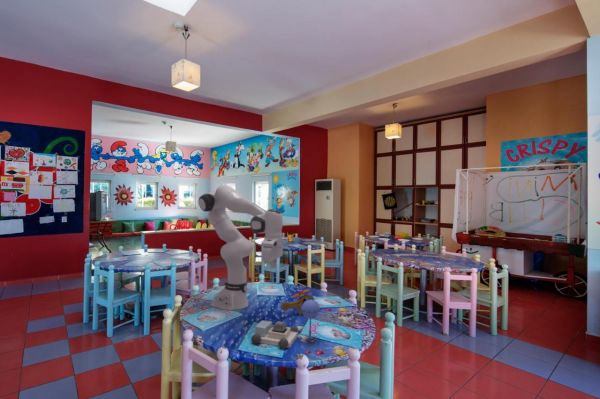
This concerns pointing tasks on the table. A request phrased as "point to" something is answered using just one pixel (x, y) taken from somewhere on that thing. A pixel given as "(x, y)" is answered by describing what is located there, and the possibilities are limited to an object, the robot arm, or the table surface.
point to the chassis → (274, 335)
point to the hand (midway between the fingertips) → (272, 267)
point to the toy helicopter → (299, 302)
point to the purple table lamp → (310, 311)
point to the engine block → (279, 327)
